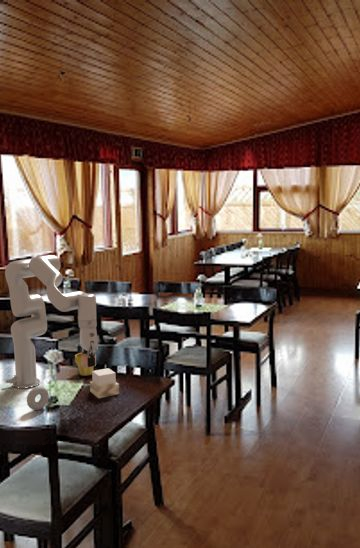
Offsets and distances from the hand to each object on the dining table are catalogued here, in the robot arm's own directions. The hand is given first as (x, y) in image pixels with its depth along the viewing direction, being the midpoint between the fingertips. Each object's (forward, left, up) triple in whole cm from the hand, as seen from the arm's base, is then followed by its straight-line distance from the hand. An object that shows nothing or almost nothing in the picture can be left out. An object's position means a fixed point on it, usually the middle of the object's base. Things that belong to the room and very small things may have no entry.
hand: (88, 363), depth 235 cm
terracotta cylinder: (0, 0, -1) cm, 1 cm away
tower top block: (+11, +9, -13) cm, 19 cm away
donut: (-21, +5, -18) cm, 28 cm away
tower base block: (+10, +9, -18) cm, 23 cm away
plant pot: (+13, +39, -18) cm, 45 cm away
